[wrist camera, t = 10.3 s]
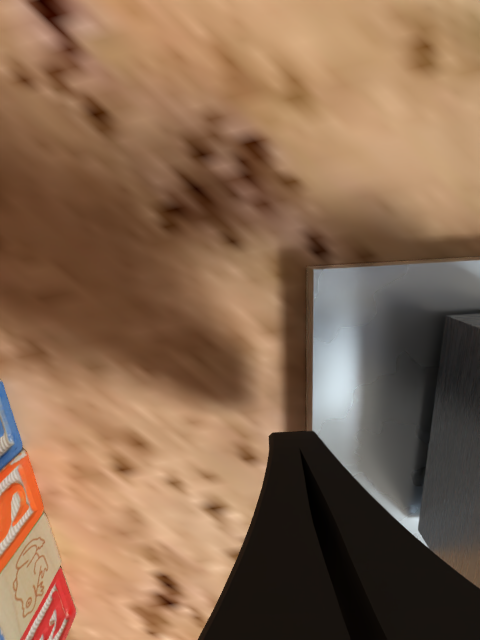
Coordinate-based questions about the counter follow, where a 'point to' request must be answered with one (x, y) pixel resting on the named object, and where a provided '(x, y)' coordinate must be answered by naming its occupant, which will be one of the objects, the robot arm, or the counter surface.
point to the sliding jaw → (455, 452)
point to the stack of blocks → (27, 548)
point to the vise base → (382, 367)
